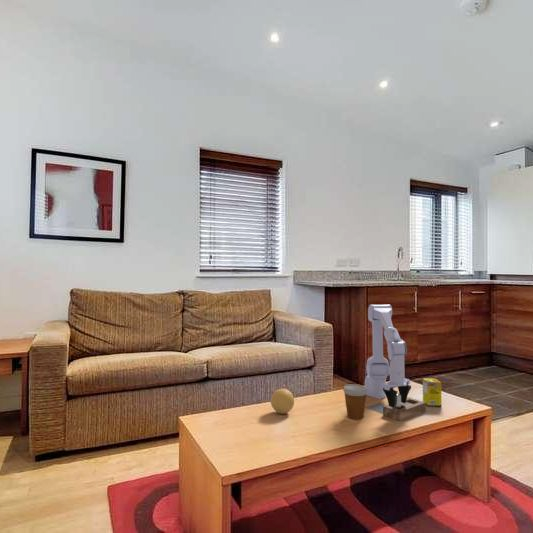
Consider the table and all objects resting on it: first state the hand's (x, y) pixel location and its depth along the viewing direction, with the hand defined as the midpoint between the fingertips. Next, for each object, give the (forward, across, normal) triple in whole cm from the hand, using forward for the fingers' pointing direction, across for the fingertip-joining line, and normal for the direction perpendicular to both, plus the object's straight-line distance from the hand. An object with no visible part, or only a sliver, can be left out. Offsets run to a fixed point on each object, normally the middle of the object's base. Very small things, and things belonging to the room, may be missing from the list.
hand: (397, 404), depth 152 cm
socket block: (+5, +5, 0) cm, 7 cm away
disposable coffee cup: (+5, -14, +10) cm, 18 cm away
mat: (+5, +2, +10) cm, 11 cm away
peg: (+5, 0, 0) cm, 5 cm away
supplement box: (+5, +24, -1) cm, 25 cm away
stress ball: (+5, -35, +31) cm, 47 cm away
